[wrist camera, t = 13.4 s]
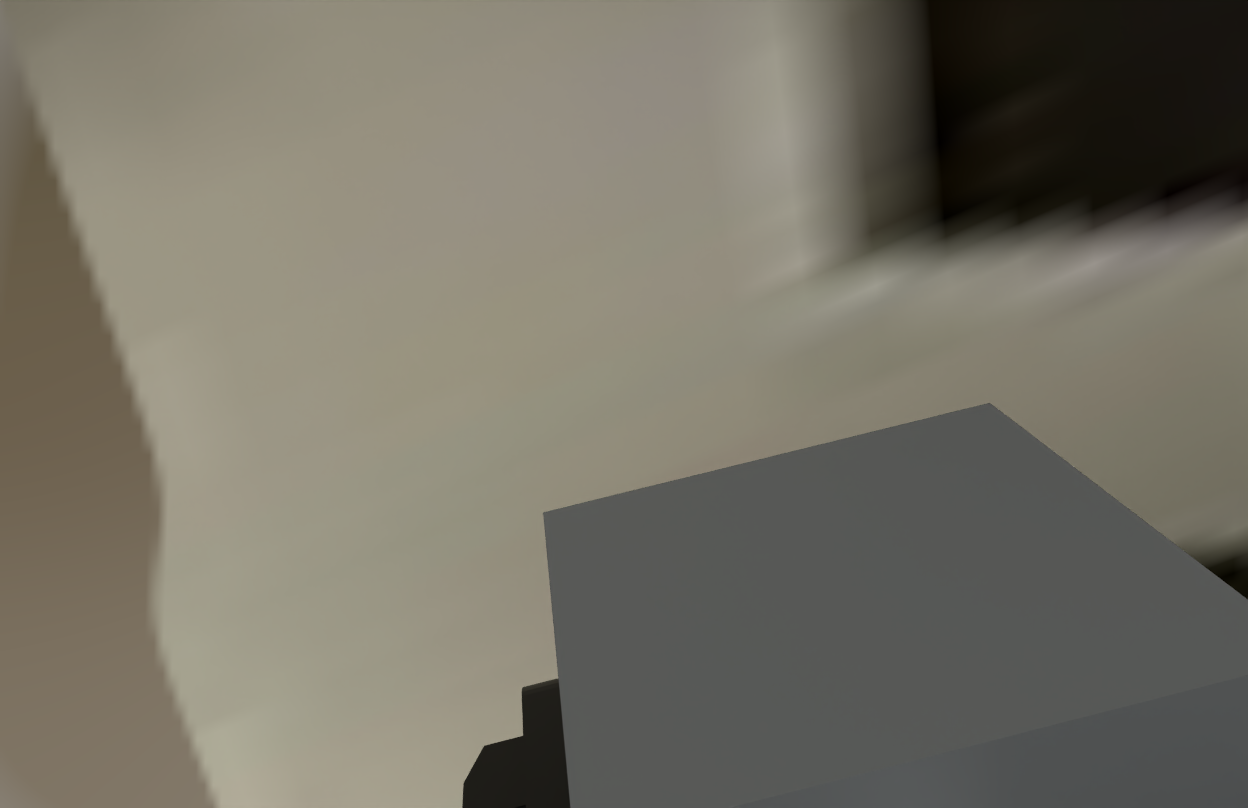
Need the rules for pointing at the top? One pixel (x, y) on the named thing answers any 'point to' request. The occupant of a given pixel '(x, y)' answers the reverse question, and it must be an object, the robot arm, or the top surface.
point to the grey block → (893, 636)
